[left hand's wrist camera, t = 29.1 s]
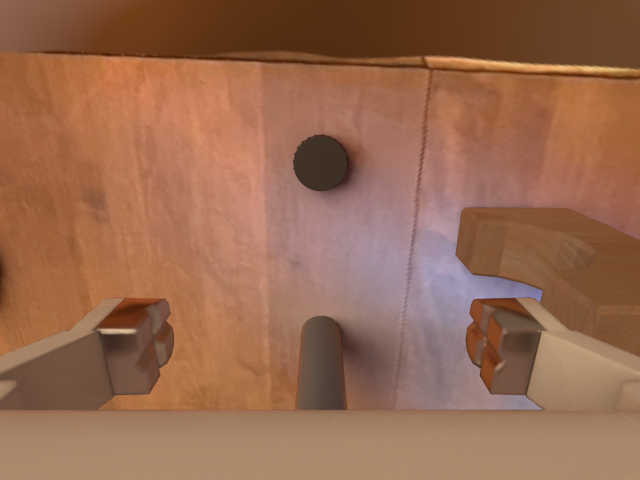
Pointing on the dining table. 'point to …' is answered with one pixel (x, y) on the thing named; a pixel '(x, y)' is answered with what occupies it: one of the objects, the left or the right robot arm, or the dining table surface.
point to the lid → (320, 163)
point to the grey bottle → (321, 367)
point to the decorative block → (561, 266)
